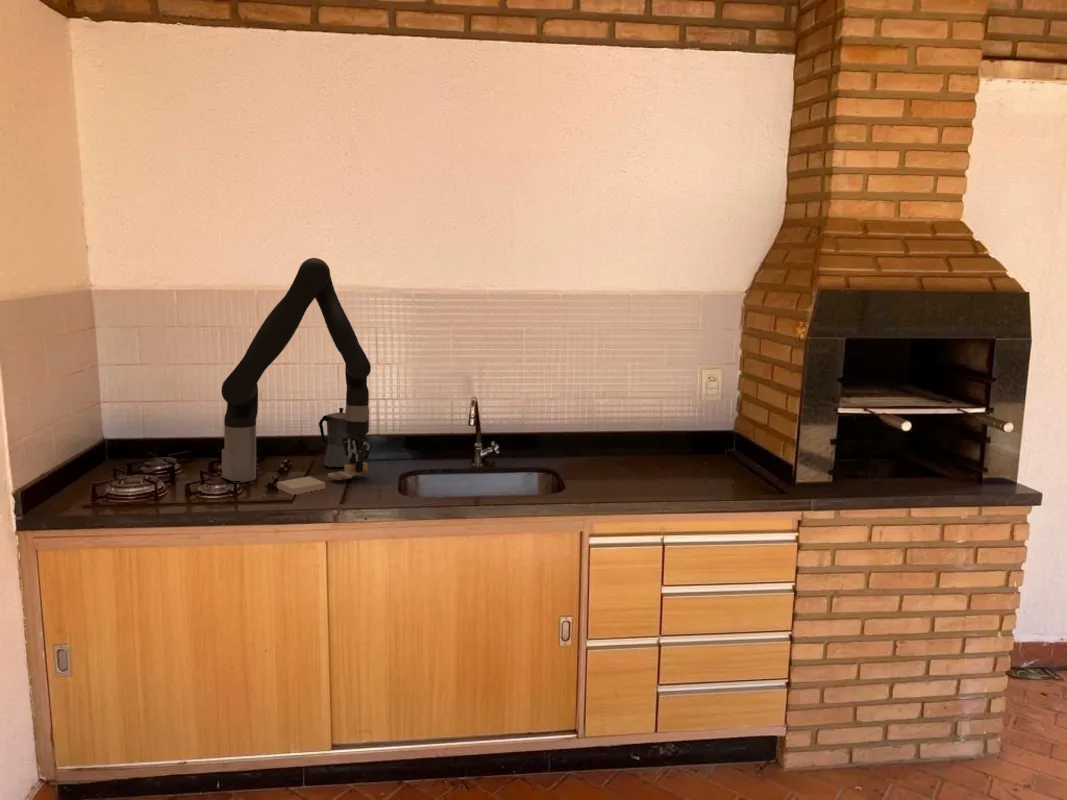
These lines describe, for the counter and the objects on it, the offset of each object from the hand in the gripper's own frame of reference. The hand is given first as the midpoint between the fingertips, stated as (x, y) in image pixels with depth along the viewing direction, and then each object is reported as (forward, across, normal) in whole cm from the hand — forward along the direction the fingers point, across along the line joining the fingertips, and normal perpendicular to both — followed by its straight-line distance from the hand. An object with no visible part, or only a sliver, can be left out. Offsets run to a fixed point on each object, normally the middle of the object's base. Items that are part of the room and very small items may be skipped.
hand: (356, 470), depth 259 cm
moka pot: (+3, -17, +4) cm, 18 cm away
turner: (+1, 0, -3) cm, 3 cm away
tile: (+2, 0, -20) cm, 20 cm away
